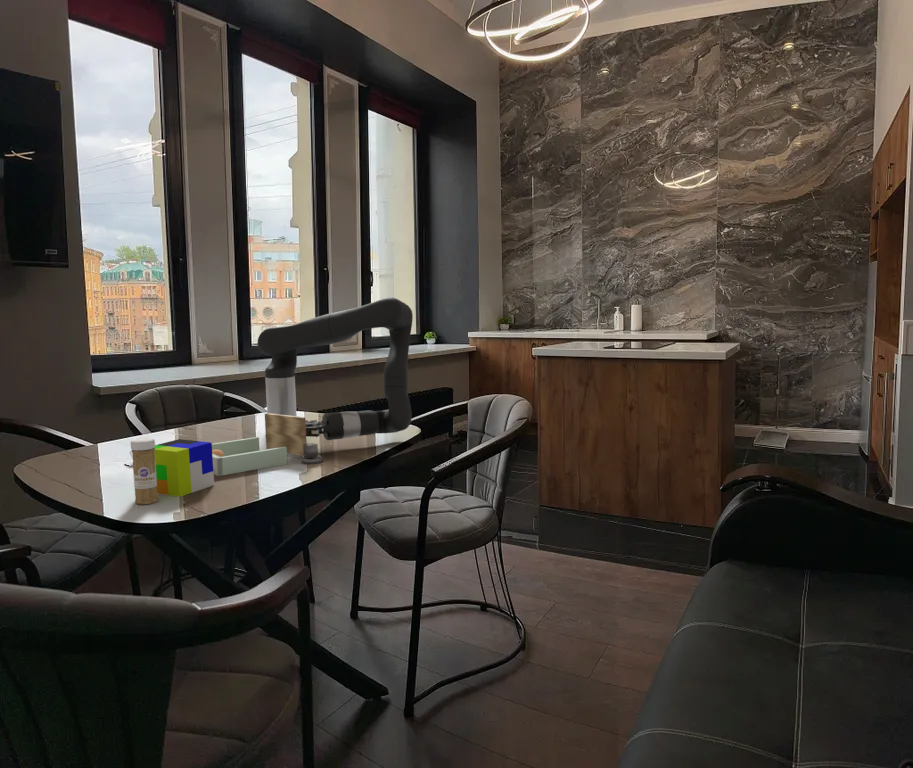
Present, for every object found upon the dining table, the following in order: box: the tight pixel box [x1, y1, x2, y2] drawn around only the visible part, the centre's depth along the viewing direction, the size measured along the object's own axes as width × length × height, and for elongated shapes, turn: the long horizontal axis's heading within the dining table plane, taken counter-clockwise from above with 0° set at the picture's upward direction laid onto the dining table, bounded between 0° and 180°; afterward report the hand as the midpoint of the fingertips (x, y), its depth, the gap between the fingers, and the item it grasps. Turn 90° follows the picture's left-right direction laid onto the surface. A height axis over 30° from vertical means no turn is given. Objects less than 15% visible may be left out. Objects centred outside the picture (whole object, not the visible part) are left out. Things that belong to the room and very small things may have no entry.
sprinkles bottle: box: [130, 437, 159, 506], centre depth 140 cm, size 5×5×14 cm
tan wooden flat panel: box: [264, 412, 319, 458], centre depth 178 cm, size 18×4×10 cm, turn 57°
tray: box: [212, 436, 288, 477], centre depth 173 cm, size 18×18×4 cm
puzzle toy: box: [154, 438, 215, 498], centre depth 151 cm, size 10×10×10 cm
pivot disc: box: [299, 455, 323, 465], centre depth 174 cm, size 6×6×1 cm
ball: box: [212, 449, 224, 457], centre depth 172 cm, size 4×4×4 cm
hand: (279, 431), depth 181 cm, fingers closed
